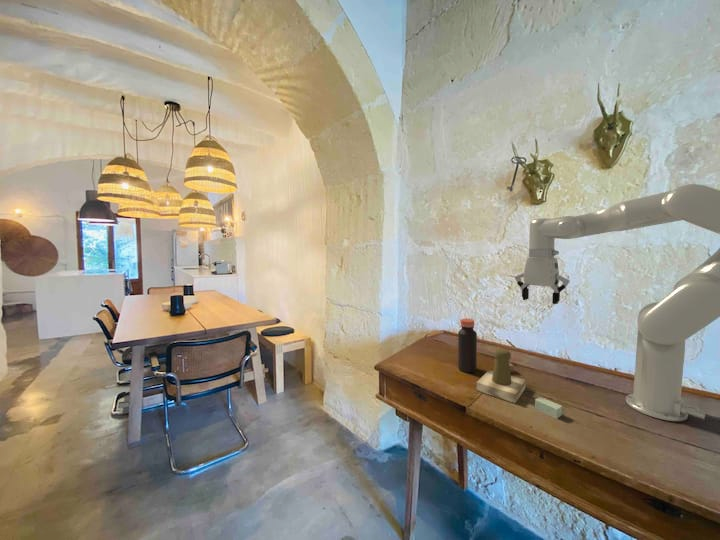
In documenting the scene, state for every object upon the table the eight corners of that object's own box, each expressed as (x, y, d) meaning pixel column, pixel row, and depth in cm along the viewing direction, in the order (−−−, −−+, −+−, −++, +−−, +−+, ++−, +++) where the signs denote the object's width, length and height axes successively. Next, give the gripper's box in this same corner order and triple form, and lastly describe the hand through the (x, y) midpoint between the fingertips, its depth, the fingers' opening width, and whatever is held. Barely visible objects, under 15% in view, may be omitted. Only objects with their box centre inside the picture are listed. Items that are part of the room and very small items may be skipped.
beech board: (525, 388, 98) (525, 379, 97) (515, 403, 89) (515, 394, 89) (489, 377, 106) (489, 369, 106) (476, 390, 97) (476, 382, 97)
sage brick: (561, 415, 82) (562, 406, 82) (556, 419, 81) (556, 409, 81) (540, 405, 88) (540, 396, 87) (534, 409, 86) (534, 399, 86)
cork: (509, 387, 93) (510, 354, 92) (489, 382, 97) (490, 350, 95) (513, 379, 98) (513, 348, 97) (494, 375, 101) (494, 345, 100)
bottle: (473, 365, 116) (473, 317, 114) (478, 373, 109) (479, 322, 107) (456, 365, 117) (456, 317, 115) (460, 373, 110) (460, 322, 108)
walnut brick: (510, 370, 112) (510, 362, 111) (513, 373, 109) (513, 366, 108) (494, 370, 112) (494, 362, 112) (497, 373, 109) (497, 366, 109)
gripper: (574, 253, 96) (572, 303, 98) (520, 253, 110) (519, 296, 112) (566, 254, 92) (564, 307, 94) (511, 254, 106) (510, 299, 107)
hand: (539, 301), depth 103 cm, fingers open, 9 cm apart
